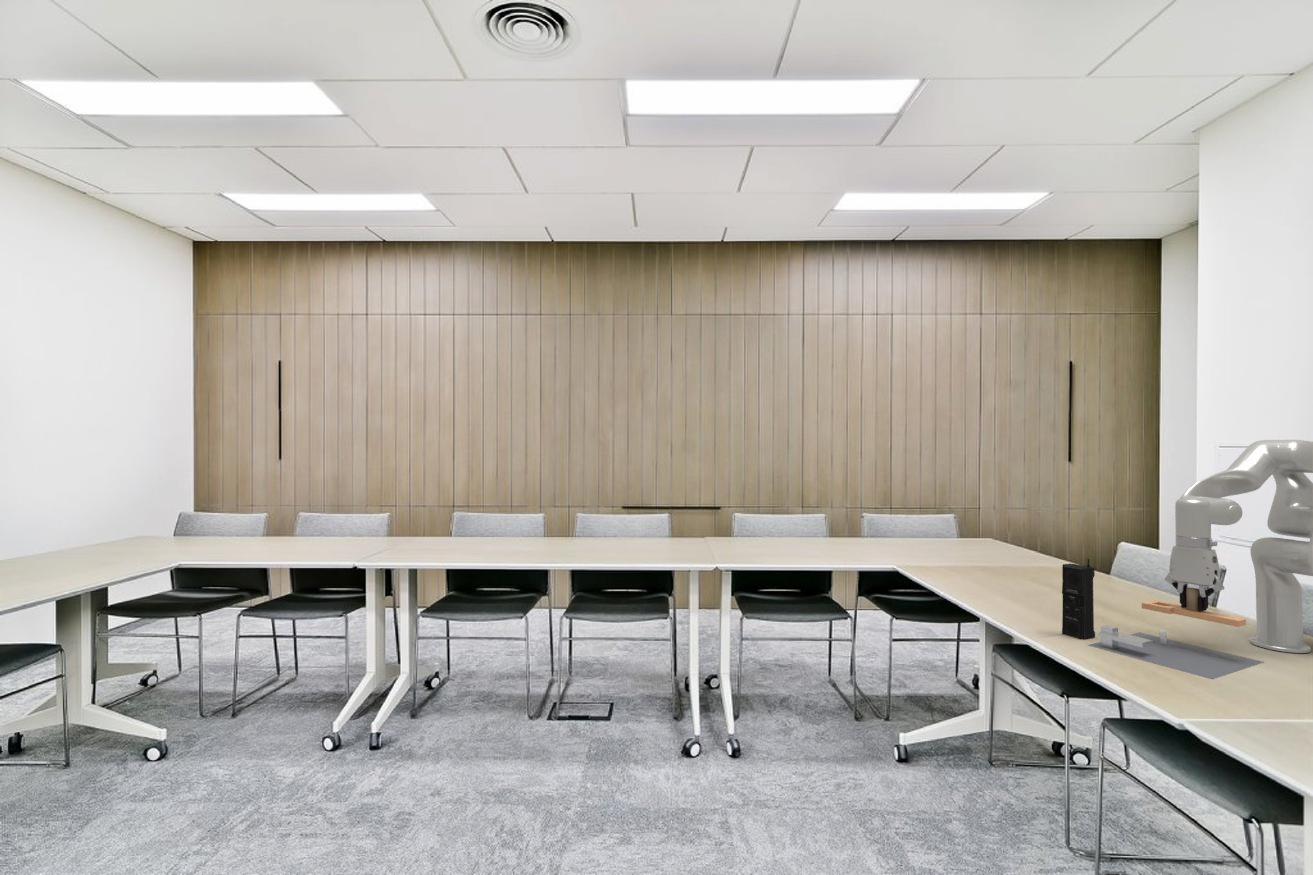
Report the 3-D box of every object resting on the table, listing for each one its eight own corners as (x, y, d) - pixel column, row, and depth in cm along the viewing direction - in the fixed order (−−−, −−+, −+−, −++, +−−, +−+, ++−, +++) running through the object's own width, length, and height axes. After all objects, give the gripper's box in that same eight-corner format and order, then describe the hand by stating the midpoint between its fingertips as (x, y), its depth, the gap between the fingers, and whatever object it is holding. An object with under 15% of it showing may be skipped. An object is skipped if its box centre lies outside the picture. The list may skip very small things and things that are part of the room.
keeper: (1109, 648, 179) (1108, 624, 179) (1152, 660, 169) (1152, 634, 169) (1098, 651, 177) (1098, 626, 177) (1142, 663, 167) (1142, 637, 167)
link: (1141, 608, 181) (1141, 582, 181) (1155, 605, 184) (1154, 579, 184) (1235, 627, 161) (1235, 598, 161) (1248, 624, 164) (1248, 595, 164)
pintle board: (1139, 637, 190) (1139, 620, 190) (1264, 667, 164) (1264, 648, 164) (1087, 650, 178) (1087, 632, 178) (1212, 685, 152) (1212, 664, 152)
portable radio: (1057, 637, 190) (1056, 556, 190) (1070, 635, 192) (1069, 554, 192) (1082, 645, 183) (1081, 560, 183) (1096, 642, 185) (1095, 559, 185)
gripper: (1237, 546, 167) (1238, 614, 167) (1165, 538, 182) (1166, 600, 181) (1223, 548, 164) (1224, 617, 163) (1151, 539, 178) (1152, 603, 178)
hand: (1193, 608), depth 172 cm, fingers closed on link, 3 cm apart
